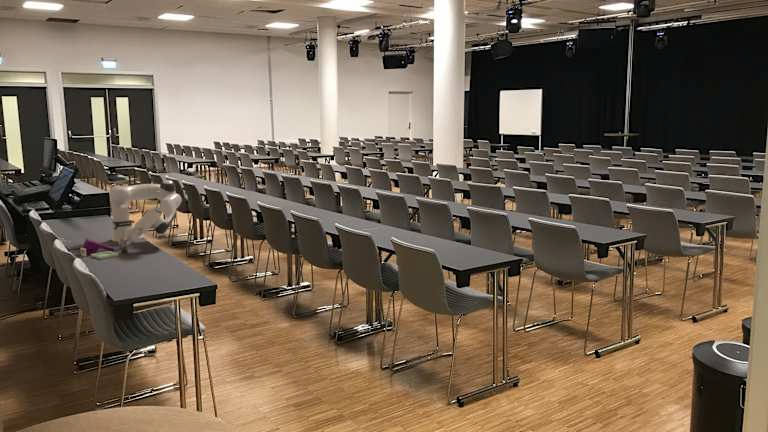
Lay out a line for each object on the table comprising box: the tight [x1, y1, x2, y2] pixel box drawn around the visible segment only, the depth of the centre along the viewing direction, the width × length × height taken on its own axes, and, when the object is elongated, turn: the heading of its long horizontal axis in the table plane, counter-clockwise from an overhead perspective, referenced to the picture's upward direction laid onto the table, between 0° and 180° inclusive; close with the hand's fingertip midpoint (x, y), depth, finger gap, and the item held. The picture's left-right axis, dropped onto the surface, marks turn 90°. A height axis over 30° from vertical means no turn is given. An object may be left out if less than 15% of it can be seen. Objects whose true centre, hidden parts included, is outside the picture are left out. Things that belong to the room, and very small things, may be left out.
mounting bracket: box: [82, 237, 116, 256], centre depth 421 cm, size 10×8×18 cm
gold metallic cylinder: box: [118, 238, 126, 250], centre depth 432 cm, size 5×5×7 cm
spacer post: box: [120, 239, 128, 254], centre depth 420 cm, size 4×4×9 cm
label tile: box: [80, 247, 88, 257], centre depth 410 cm, size 1×6×5 cm, turn 52°
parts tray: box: [90, 250, 120, 261], centre depth 409 cm, size 12×12×2 cm
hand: (126, 243), depth 420 cm, fingers open, 8 cm apart
